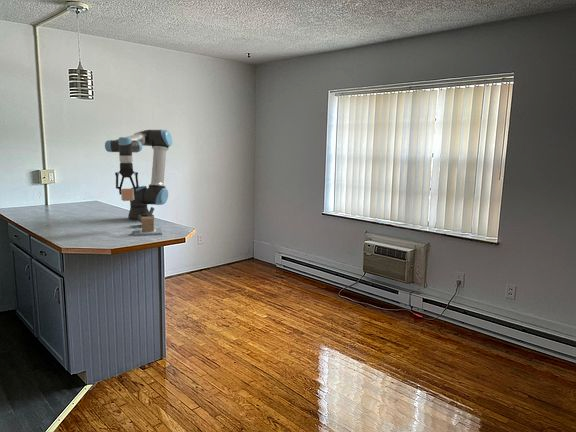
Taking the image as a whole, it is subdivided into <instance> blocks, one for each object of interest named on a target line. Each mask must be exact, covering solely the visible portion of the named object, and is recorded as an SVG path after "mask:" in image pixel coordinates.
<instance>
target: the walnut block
mask: <svg viewBox="0 0 576 432" xmlns="http://www.w3.org/2000/svg"><path fill="white" fill-rule="evenodd" d="M141 222H142V223H141ZM141 222H140V223H141V229H142V232H154V228H155V225H154V224H155V223H154V222H155V218H154V219H153V217H141Z"/></svg>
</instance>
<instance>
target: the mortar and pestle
mask: <svg viewBox="0 0 576 432" xmlns="http://www.w3.org/2000/svg"><path fill="white" fill-rule="evenodd" d="M154 211H155V207H152V206H151V207H150V208H149V213H148V214H144V215H139V216H138V217H139V220H138V221H139V222H140V224H142V222H141V217H153V219H154V220H155V215H154Z"/></svg>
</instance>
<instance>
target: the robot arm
mask: <svg viewBox="0 0 576 432" xmlns="http://www.w3.org/2000/svg"><path fill="white" fill-rule="evenodd" d="M172 145H173V137H172V134H171V132H170V131H169V130H168V129H145V130H141V131H138V132H135V133H133V134H132V135H129V136H123V137H122V136H120V137H118V139H113V140H112V139H110V140H108V139H107V140H106V141H105V143H104V149H105V151H106V152H108V153H118V154H119V156H118V157H119V162H120V163H119V171H117V172H115V173H114V175H115V189H118V194H119V196H121V201H123V198H122V189H123V188H122V187H123V185H124V180H125V178H126V179H127V178H128V179H129V181H130V183H131V185H132V187H130V188H129V189H132V188H133V189H132V190H133V201H129V205H130V209H129V212H128V216H127V217H128V218H127V219H128V220H130V221H139V217H138V216H139V215H144V214H148V213H149V211H150V209H149V207H148V205H151V206H152V205H156V206H161V205H165V204H166V203H167V201H168V198H169V190H168V189H167V188H166V185H165V181H164V180H165V172H166V171H165V169H166V168H165V167H166V157H167V152H168V151H169V147H171V146H172ZM143 146H145V147H146V146H147V147H151V149H152V150H153V156H152V169H151V180H150V184H148V187H147V185H141V186H140V185H139V178H138V176H139V172H138V171H134V168H133V167H134V165H133V153H135V154H137V153H139V152H141V151H142V149H143ZM133 174H134V176H135V183H134V180H133V177H132V176H133ZM119 175H121V180H120V183H119Z"/></svg>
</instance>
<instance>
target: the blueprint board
mask: <svg viewBox="0 0 576 432" xmlns="http://www.w3.org/2000/svg"><path fill="white" fill-rule="evenodd" d="M133 232H134V233H133V237H142V236H143V237H145V236H159V235H160V236H163V231H162V227H154V232H142V228H135V229H134V230H133Z"/></svg>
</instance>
